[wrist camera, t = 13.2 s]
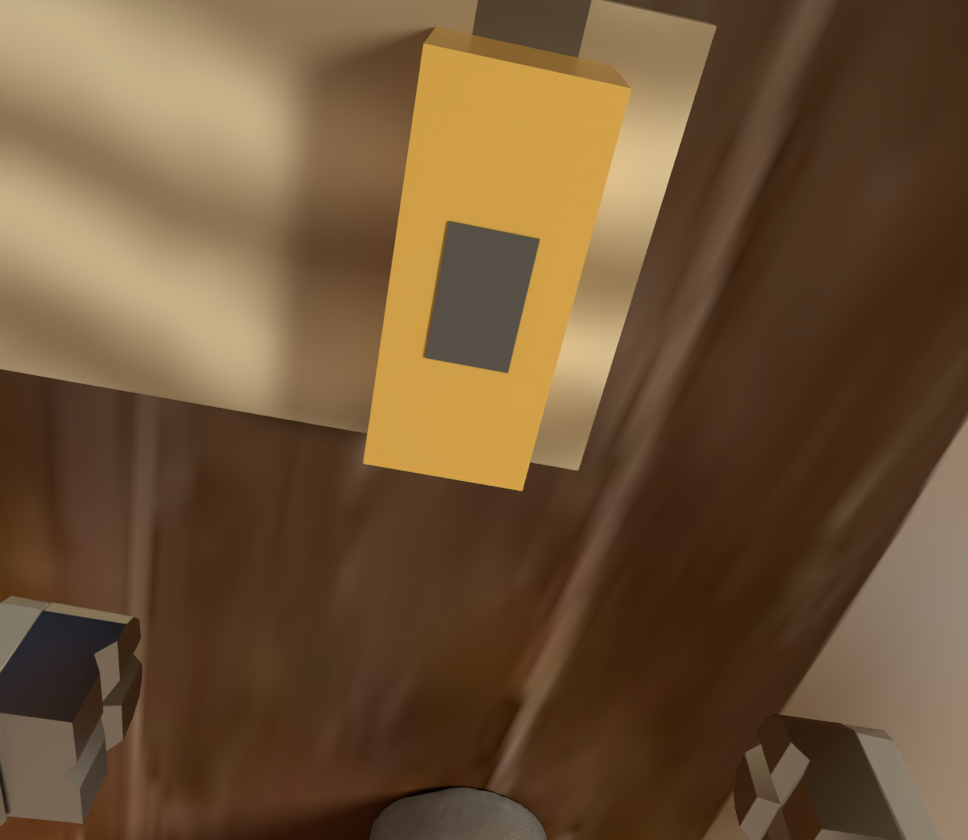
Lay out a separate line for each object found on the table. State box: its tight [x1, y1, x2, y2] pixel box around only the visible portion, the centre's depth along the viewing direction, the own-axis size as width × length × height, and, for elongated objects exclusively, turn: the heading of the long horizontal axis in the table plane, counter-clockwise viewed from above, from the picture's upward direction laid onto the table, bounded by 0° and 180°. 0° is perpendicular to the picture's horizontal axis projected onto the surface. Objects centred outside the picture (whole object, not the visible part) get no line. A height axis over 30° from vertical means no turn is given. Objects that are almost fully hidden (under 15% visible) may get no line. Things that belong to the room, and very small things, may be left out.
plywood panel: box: [0, 0, 716, 470], centre depth 25 cm, size 15×26×1 cm, turn 79°
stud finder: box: [363, 27, 632, 491], centre depth 24 cm, size 12×5×4 cm, turn 169°
